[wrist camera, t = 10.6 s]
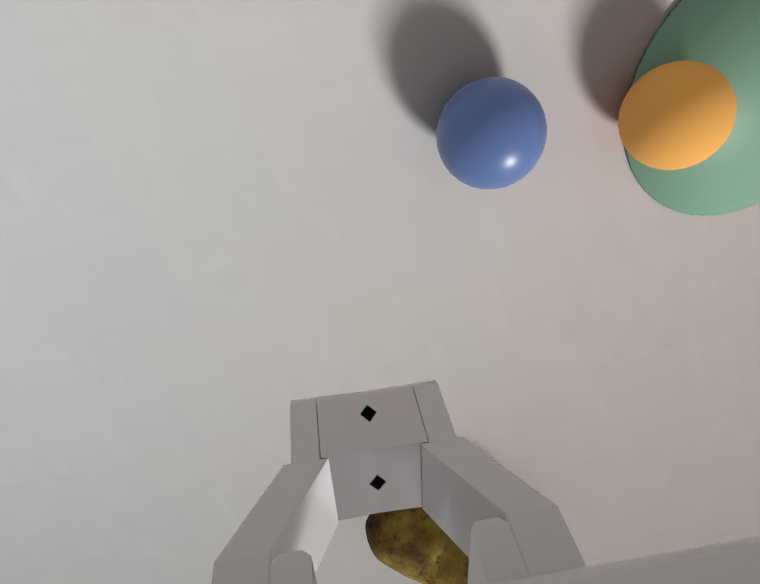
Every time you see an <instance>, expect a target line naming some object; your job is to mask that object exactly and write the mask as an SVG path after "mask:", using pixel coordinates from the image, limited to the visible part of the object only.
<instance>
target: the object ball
mask: <svg viewBox="0 0 760 584" xmlns="http://www.w3.org/2000/svg"><path fill="white" fill-rule="evenodd" d="M736 109H737V107H736V97H735V94H734V91H733V88H732V86H731V85H730V83H729V81H728V80H727V79H726V77H725V76H724V75H722V74H721V73H720V72H719V71H718V70H716V69H715V68H713V67H711V66H709V65H707V64H704V63H701V62H696V61H675V62H670V63H666V64H663V65H661V66H658V67H656V68H654V69H652V70H650V71H649V72H647V73H646V74H645V75H643V76H642V77H641V78H640V79H639V80H638V81H636V82H635V83H634V85H633V86H632V87H631V88H630V90H629V91H628V93H627V94H626V96H625V98H624V100H623V102H622V105H621V108H620V112H619V118H618V128H619V134H620V138H621V141H622V143H623V145H624V146H625V148H626V150H627V151H628V152H629V153H630V154H631V155H632V156H633V157H634V158H635V159H636V160H637V161H639V162H640V163H642V164H644V165H646V166H649V167H652V168H656V169H660V170H678V169H683V168H687V167H690V166H693V165H696V164H698V163H700V162H702V161H703V160H705V159H707V158H708V157H710V156H711V155H712V154H714V153H715V152H716V151H717V150H718V149H719V148H720V147H721V146H722V145H723V143H724V142H725V141H726V139H727V137H728V136H729V134H730V132H731V130H732V128H733V125H734V122H735V118H736Z"/></svg>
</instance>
